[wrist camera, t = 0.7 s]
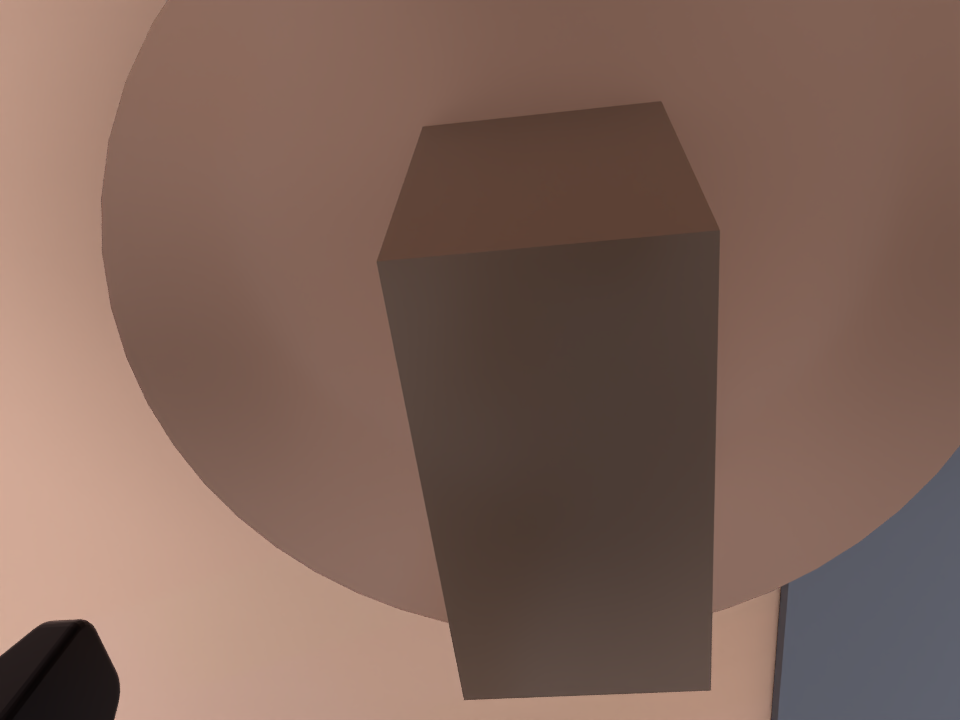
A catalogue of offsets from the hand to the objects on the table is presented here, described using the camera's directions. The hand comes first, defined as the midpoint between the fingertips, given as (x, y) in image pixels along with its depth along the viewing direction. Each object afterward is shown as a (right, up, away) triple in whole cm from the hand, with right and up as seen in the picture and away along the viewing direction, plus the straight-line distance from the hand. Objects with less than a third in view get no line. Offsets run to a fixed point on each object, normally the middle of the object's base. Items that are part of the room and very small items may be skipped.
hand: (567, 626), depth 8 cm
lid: (0, +3, +5) cm, 7 cm away
